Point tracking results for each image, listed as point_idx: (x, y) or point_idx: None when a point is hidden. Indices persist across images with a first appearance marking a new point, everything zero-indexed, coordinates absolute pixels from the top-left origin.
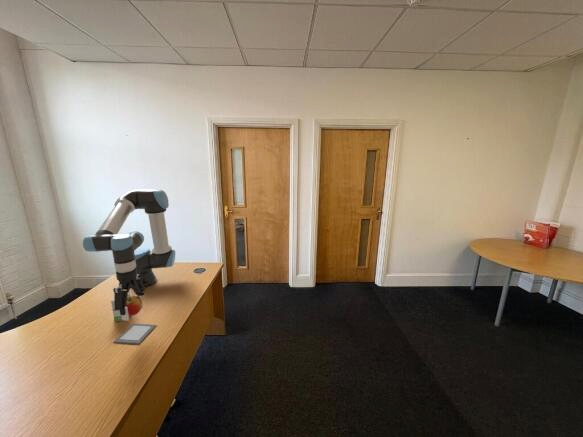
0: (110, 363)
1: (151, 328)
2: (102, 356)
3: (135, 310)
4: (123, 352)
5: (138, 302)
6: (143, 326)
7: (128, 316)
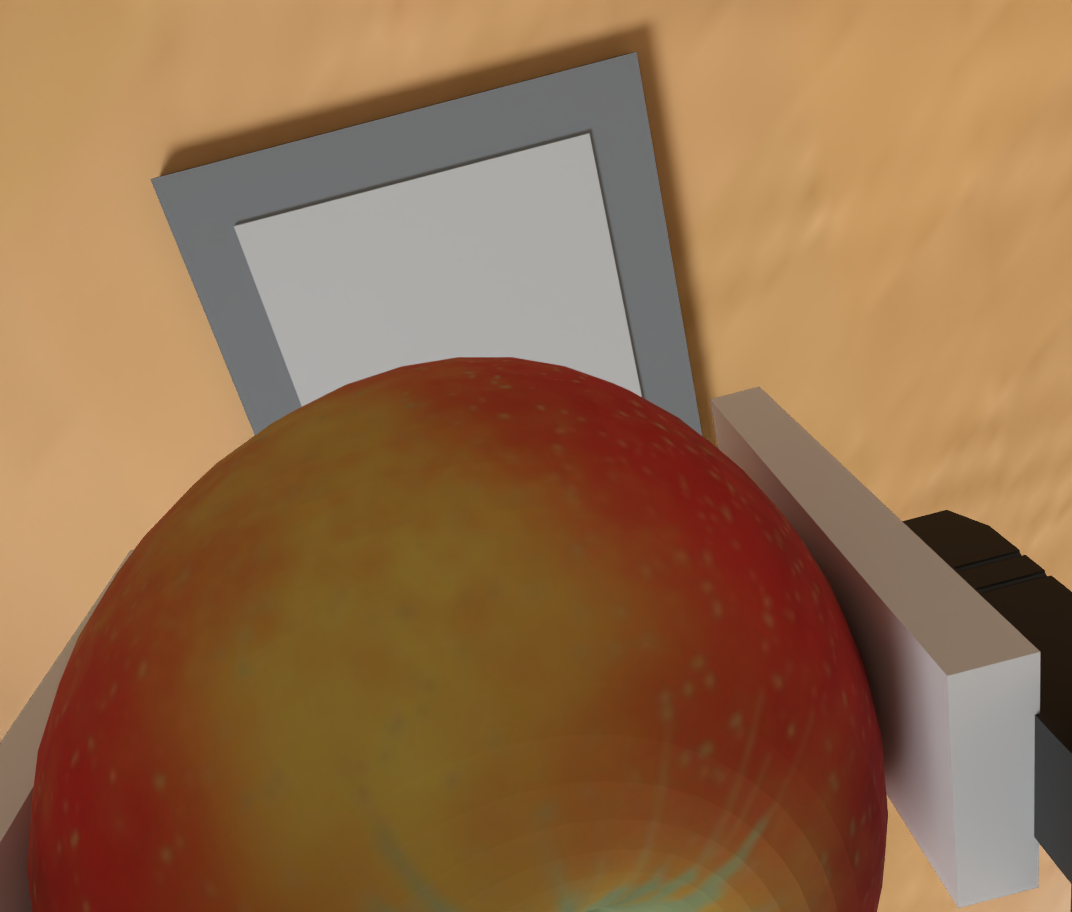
0: (1039, 135)
1: (266, 177)
2: (941, 375)
3: (601, 382)
4: (832, 152)
5: (389, 535)
6: (297, 370)
7: (762, 438)
